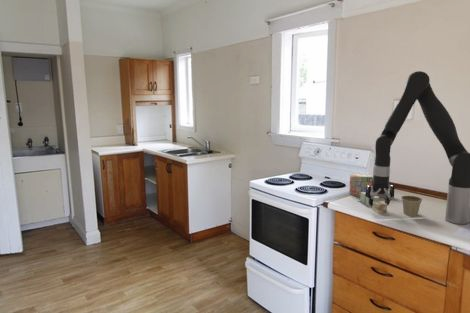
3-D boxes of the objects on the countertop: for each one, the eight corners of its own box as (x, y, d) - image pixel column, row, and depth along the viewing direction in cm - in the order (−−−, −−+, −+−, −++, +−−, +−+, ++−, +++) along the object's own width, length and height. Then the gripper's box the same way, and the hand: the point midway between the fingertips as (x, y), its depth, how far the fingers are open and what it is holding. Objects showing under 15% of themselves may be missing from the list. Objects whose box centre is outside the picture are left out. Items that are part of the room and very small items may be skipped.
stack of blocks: (386, 195, 202) (387, 175, 200) (388, 198, 196) (389, 177, 194) (349, 193, 208) (350, 173, 206) (349, 195, 202) (350, 175, 200)
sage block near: (374, 203, 184) (374, 195, 183) (379, 206, 179) (379, 197, 178) (365, 204, 183) (366, 195, 182) (370, 207, 178) (370, 198, 177)
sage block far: (368, 200, 190) (368, 191, 189) (372, 203, 185) (373, 194, 184) (360, 200, 190) (360, 192, 189) (364, 203, 185) (364, 194, 184)
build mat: (374, 201, 191) (374, 200, 190) (385, 207, 179) (385, 206, 179) (357, 201, 189) (357, 200, 189) (367, 208, 178) (368, 207, 178)
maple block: (381, 210, 175) (381, 201, 174) (386, 213, 170) (387, 204, 169) (372, 210, 174) (372, 201, 174) (377, 214, 169) (377, 204, 169)
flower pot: (409, 219, 162) (411, 201, 160) (395, 212, 171) (396, 196, 169) (425, 217, 164) (427, 200, 163) (410, 211, 173) (412, 194, 172)
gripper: (371, 176, 164) (369, 208, 167) (399, 175, 166) (396, 207, 169) (364, 173, 172) (362, 203, 174) (390, 172, 173) (387, 202, 176)
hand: (378, 205), depth 172 cm, fingers open, 8 cm apart
